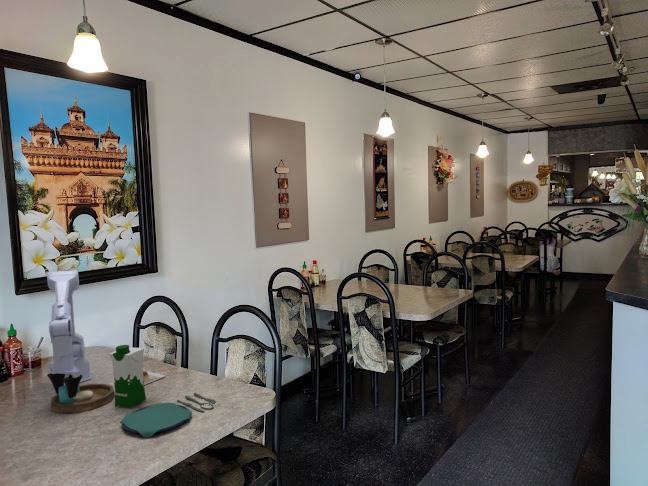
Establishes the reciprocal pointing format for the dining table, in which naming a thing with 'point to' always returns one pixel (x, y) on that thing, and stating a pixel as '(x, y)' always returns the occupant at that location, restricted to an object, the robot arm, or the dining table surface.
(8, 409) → the dining table surface
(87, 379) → the robot arm
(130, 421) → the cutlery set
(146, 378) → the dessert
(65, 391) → the bead
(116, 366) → the milk carton
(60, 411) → the groove tray
